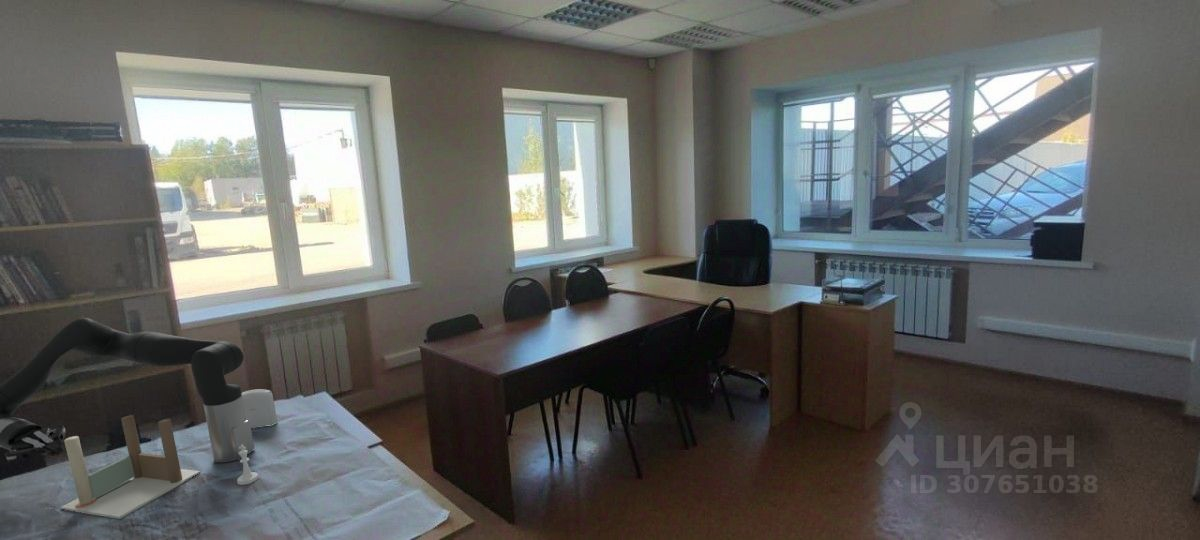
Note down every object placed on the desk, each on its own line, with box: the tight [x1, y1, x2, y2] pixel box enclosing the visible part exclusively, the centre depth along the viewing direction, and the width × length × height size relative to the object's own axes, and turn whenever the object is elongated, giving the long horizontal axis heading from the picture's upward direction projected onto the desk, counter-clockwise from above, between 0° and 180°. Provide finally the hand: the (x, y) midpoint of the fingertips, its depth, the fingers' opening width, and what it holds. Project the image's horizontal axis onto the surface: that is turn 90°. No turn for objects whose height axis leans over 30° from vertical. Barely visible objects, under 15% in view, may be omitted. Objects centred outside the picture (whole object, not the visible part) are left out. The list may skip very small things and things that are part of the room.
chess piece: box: [236, 445, 260, 486], centre depth 148 cm, size 5×5×10 cm
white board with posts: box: [60, 414, 201, 520], centre depth 144 cm, size 20×20×18 cm
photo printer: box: [241, 388, 278, 429], centre depth 180 cm, size 10×4×12 cm, turn 100°
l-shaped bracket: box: [63, 435, 135, 505], centre depth 143 cm, size 13×3×17 cm, turn 166°
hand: (58, 451), depth 143 cm, fingers closed
